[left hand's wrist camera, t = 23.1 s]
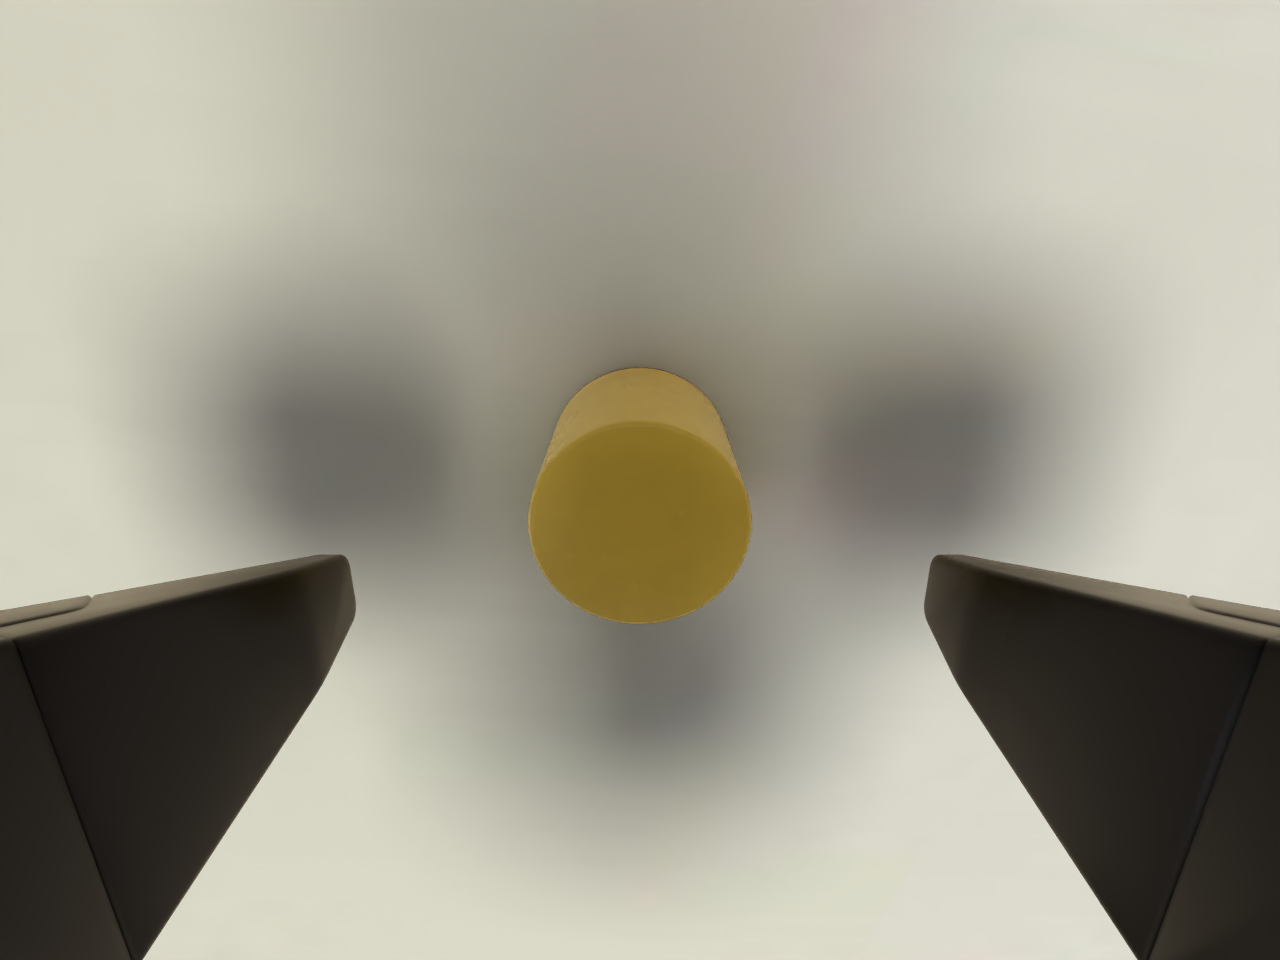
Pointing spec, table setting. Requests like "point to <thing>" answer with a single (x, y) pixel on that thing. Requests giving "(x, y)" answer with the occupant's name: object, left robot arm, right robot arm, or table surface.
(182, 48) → the table surface
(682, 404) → the tin
